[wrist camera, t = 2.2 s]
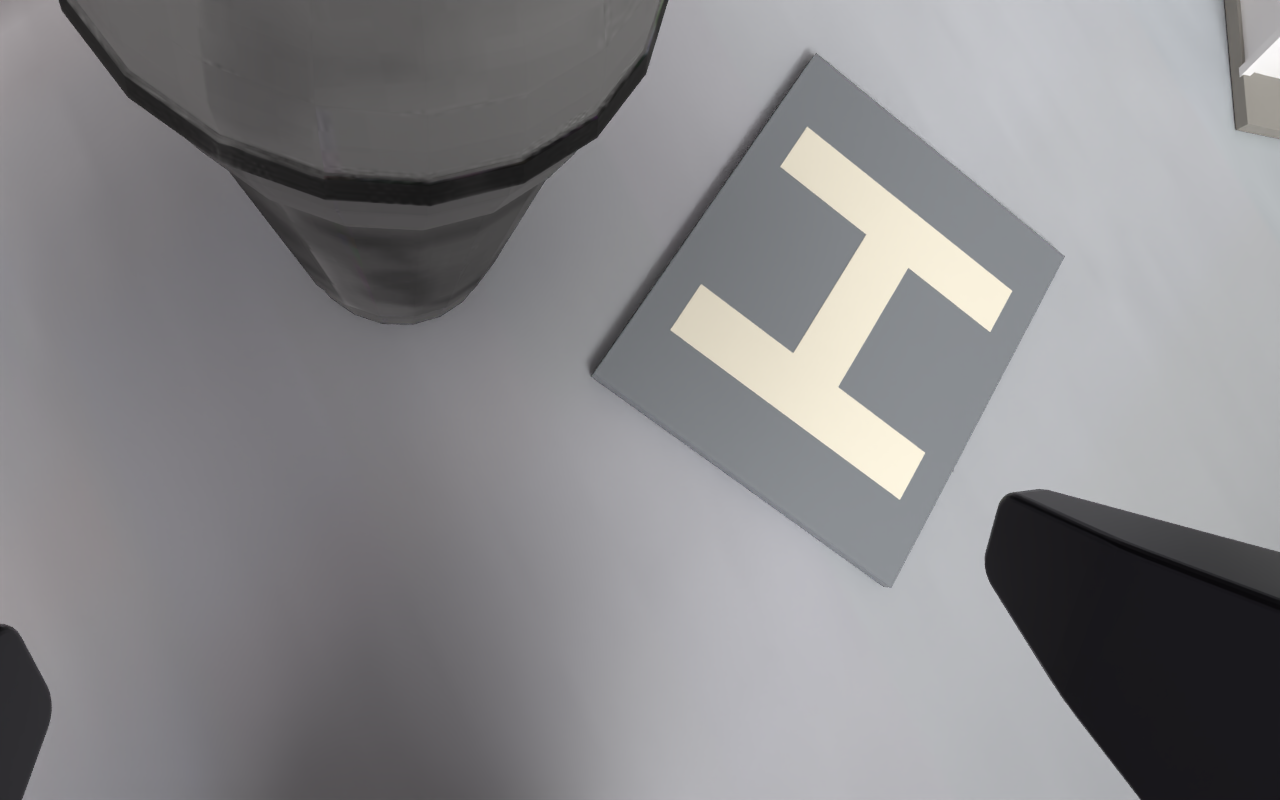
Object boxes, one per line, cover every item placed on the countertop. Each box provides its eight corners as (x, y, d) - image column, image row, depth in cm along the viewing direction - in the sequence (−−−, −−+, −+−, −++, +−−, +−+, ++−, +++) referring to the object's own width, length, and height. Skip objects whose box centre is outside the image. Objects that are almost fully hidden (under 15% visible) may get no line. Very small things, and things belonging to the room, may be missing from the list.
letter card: (883, 586, 23) (891, 587, 22) (590, 376, 22) (594, 373, 21) (1055, 260, 26) (1065, 256, 26) (809, 60, 25) (816, 52, 24)
